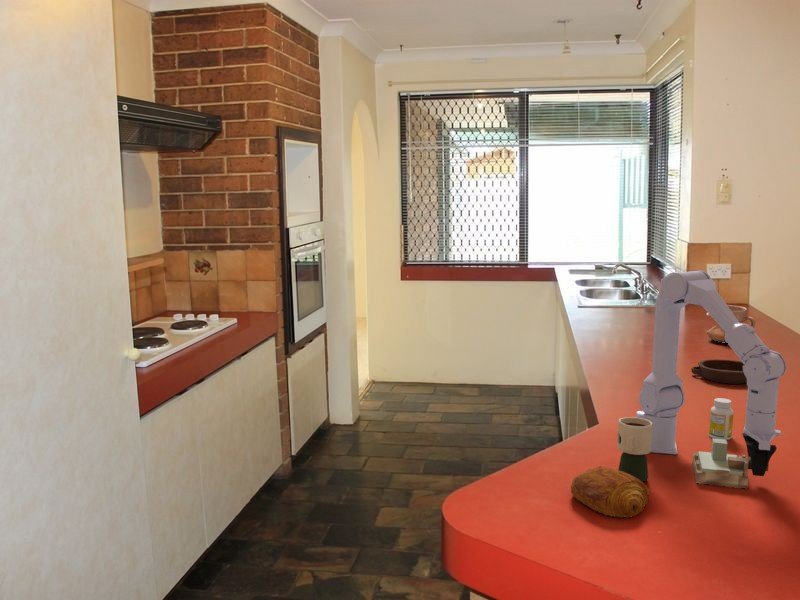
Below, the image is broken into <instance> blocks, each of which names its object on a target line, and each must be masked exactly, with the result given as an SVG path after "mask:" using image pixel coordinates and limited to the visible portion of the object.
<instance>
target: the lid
mask: <svg viewBox="0 0 800 600" xmlns="http://www.w3.org/2000/svg"><path fill="white" fill-rule="evenodd" d="M711 441H712V442H711V450H712V452H711V451H710V452H708V451H697V453H698V457H699V462H700V466H701V471H702V472H707V473H716V469H722V470H729V475H736V476H743V472H742V469H741V468H731V467H729V466H728V457H738V455H737V454H729V453H728V440H725V439H714V438H711Z"/></svg>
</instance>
